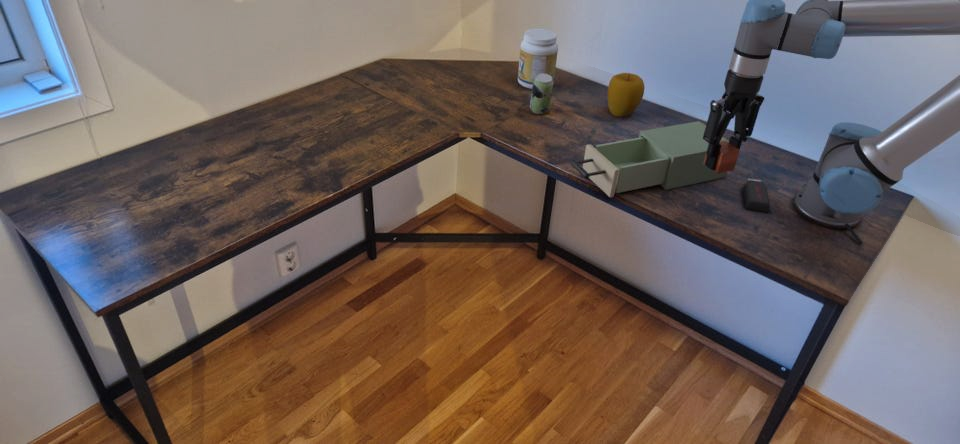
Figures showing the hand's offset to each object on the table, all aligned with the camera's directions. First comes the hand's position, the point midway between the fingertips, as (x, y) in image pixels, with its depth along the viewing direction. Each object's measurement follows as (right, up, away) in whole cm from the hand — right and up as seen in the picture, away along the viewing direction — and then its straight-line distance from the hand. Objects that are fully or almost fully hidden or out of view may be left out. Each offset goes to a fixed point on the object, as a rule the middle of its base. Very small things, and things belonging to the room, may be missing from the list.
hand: (719, 165), depth 154 cm
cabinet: (-3, +1, +21) cm, 22 cm away
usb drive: (+13, -8, +12) cm, 19 cm away
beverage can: (-38, +20, +46) cm, 63 cm away
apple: (-13, +20, +48) cm, 53 cm away
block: (0, -1, 0) cm, 1 cm away
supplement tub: (-38, +33, +64) cm, 81 cm away
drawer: (-22, -3, +14) cm, 26 cm away
